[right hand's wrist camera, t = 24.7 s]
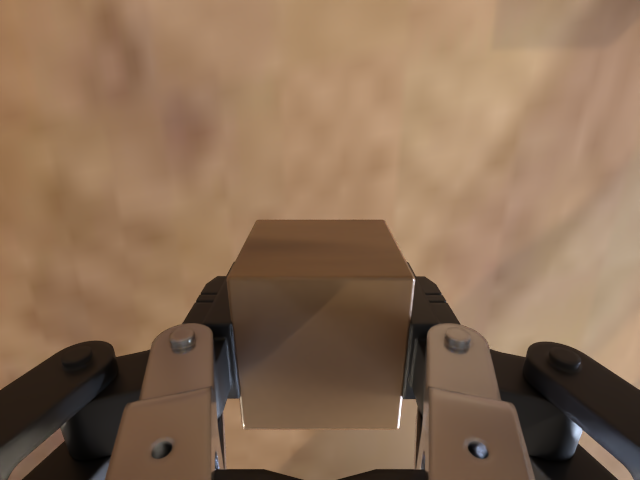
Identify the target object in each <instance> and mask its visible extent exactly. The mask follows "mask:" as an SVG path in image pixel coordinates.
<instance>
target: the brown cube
mask: <svg viewBox="0 0 640 480" xmlns="http://www.w3.org/2000/svg"><path fill="white" fill-rule="evenodd" d="M226 280H227V289H228V299H229V308H230V317H231V322H232V324H233V333H234V343H235V352H236V362H237V371H238V380H239V390H240V398H239V400H240V409H241V419H242V426H243V429H246V430H396V429H398V428H399V424H400V415H401V406H402V393H403V383H404V374H405V365H406V356H407V347H408V337H409V328H410V321H411V314H412V305H413V295H414V286H415V277H414V275H413V273H412V271H411V269H410V267H409V266H408V264H407V262H406V260H405V258H404V256H403V254H402V252H401V250H400V248H399V246H398V245H397V243H396V241H395V239H394V237H393V235H392V233H391V231H390V229H389V227H388V225H387V224H386V222H385V221H384V220H257V221H256V222H255V224H254V226H253V228H252V230H251V232H250V234H249V236H248V238H247V240H246V242H245V244H244V246H243V247H242V249H241V251H240V253H239V255H238V257H237V259H236V261H235V263H234V265H233V267H232V269H231V271H230V273H229V275H228V276H227V279H226Z"/></svg>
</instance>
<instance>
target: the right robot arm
mask: <svg viewBox="0 0 640 480" xmlns="http://www.w3.org/2000/svg"><path fill="white" fill-rule="evenodd" d="M234 263H235V262H234ZM234 263H233V264H232V266H231V268H230V270H229V272H228V274H227V276H228V275H229V273H230V271H231V269H232V267H233V265H234ZM407 264H408V266H409V267H410V269H411V271H412V273H413V275H414V277H415V286H414V295H413V305H412V314H411V321H410V328H409V337H408V347H407V356H406V365H405V374H404V383H403V393H402V398H403V399H416V402H417V405H418V408H417V415H416V429H415V451H414V469H375V470H372V471H368V472H364V473H360V474H357V475H353V476H349V477H346V478H342V479H338V480H618V479H617V478H616V477H615V476H613V475H612V474H611V473H610V472H609V471H608V470H607V469H606V468H605V467H603V466H602V465H601V464H600V463H599V462H598V461H597V460H596V459H595V458H594V457H592V456H591V455H590V454H589V453H588V452H587V451H586V450H585V449H584V448H582V447H581V446H580V445H579V444H578V442H579V439H580V436H581V434H582V431H583V430H584V431H585V432H586V433H587V434H588V435H589V436H591V437H592V438H593V439H594V440H595V441H596V442H598V443H599V444H600V445H601V446H602V447H603V448H605V449H606V450H607V451H608V452H609V453H610V454H612V455H613V456H614V457H615V458H616V459H617V460H619V461H620V462H621V463H622V464H623V465H624V466H625V467H626V468H627V469H628V471H629V472H630V473H631V475H632V477H633V479H634V480H640V390H639V389H637V388H636V387H634V386H633V385H631V384H630V383H628V382H627V381H625V380H624V379H622V378H621V377H619V376H617V375H616V374H614V373H613V372H611V371H610V370H608V369H607V368H605V367H604V366H602V365H601V364H599V363H598V362H596V361H595V360H593V359H592V358H590V357H589V356H587V355H586V354H584V353H582V352H580V351H578V350H576V349H574V348H572V347H569V346H566V345H563V344H559V343H554V342H537V343H534V344H532V345H531V346H530V347H529V348H528V351H527V355H526V357H521V356H516V355H511V354H507V353H502V352H498V351H494V350H491V349H489V345H488V342H487V341H486V339H485V338H484V337H483V336H482V335H481V334H480V333H478V332H477V331H475V330H473V329H471V328H469V327H466V326H463V325H461V324H460V323H459V321H458V320H457V318H456V316H455V315H454V313H453V311H452V310H451V308H450V306H449V305H448V303H446V300H445V298H444V297H443V295H441V292H440V290H439V289H438V287H437V285H436V284H435V283H433V282H432V281H430V280H429V279H427V278H426V277H416V276H415V274H414V272H413V270H412V268H411V266H410V265H409V263H408V262H407ZM227 276H217V277H216V278H214V279H213V280H211V281H210V282H209V283H207V284H206V285H205V287H204V289H203V290H202V292H201V295H199V297H198V299H197V300H196V303H195V304H194V305H193V307H192V309H191V310H190V312H189V313H188V315H187V317H186V318H185V320H184V322H183V323H182V324H181V325H177V326H174V327H171V328H169V329H167V330H165V331H163V332H162V333H160V334H159V335H158V336H157V337H156V338H155V339H154V341H153V343H152V345H151V349H150V350H147V351H143V352H139V353H134V354H129V355H124V356H119V357H116V356H115V352H114V349H113V346H112V345H111V344H109V343H107V342H104V341H88V342H82V343H78V344H75V345H72V346H70V347H67V348H65V349H63V350H61V351H59V352H58V353H56V354H54V355H53V356H51V357H50V358H48V359H47V360H45V361H44V362H42V363H41V364H39V365H38V366H36V367H35V368H33V369H32V370H30V371H29V372H27V373H26V374H24V375H23V376H21V377H20V378H18V379H16V380H15V381H13V382H12V383H10V384H9V385H7V386H6V387H4V388H3V389H1V390H0V480H8V477H9V475H10V474H11V472H12V471H13V469H14V468H15V467H16V466H17V464H18V463H19V462H20V461H21V460H23V459H24V458H25V457H26V456H27V455H28V454H30V453H31V452H32V451H33V450H34V449H35V448H37V447H38V446H39V445H40V444H41V443H42V442H44V441H45V440H46V439H47V438H48V437H49V436H51V435H52V434H53V433H54V432H55V431H56V430H58V429H59V428H60V429H61V431H62V434H63V437H64V440H65V441H64V442H63V443H62V444H61V445H60V446H59V447H58V448H56V449H55V450H54V451H53V452H52V453H51V454H50V455H49V456H48V457H46V458H45V459H44V460H43V461H42V462H41V463H40V464H39V465H38V466H37V467H35V468H34V469H33V470H32V471H31V472H30V473H29V474H28V475H27V476H25V477H24V478H23V479H22V480H302V479H298V478H294V477H291V476H287V475H283V474H279V473H276V472H272V471H268V470H265V469H226V450H225V429H224V415H223V410H224V407H225V404H226V400H227V398H240V390H239V380H238V371H237V362H236V352H235V343H234V333H233V324H232V322H231V317H230V308H229V299H228V289H227V280H226V279H227Z"/></svg>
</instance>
